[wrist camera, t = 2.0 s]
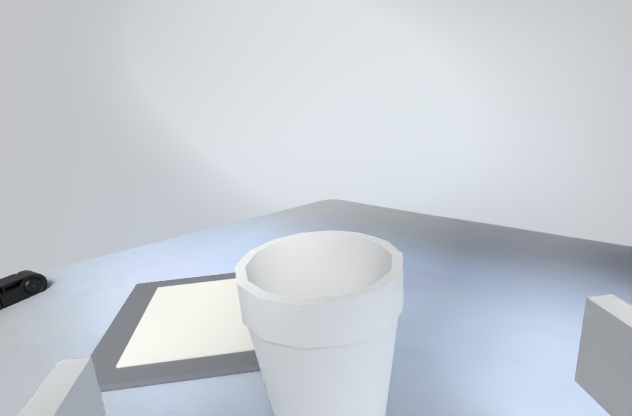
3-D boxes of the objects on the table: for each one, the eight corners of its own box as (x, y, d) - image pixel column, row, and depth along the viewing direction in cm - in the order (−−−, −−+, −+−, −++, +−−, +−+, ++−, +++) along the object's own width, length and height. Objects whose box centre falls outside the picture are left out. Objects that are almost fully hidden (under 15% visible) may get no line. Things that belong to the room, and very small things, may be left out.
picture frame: (333, 265, 52) (333, 259, 52) (365, 356, 35) (365, 348, 35) (137, 288, 50) (136, 282, 50) (70, 395, 33) (68, 387, 33)
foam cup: (251, 518, 23) (217, 311, 19) (267, 395, 32) (245, 237, 28) (423, 505, 23) (425, 295, 19) (391, 386, 32) (387, 226, 28)
